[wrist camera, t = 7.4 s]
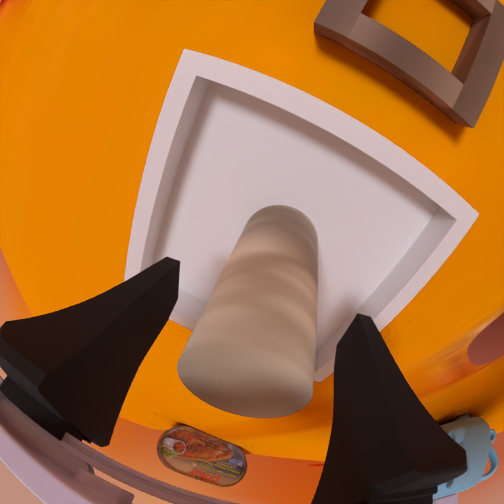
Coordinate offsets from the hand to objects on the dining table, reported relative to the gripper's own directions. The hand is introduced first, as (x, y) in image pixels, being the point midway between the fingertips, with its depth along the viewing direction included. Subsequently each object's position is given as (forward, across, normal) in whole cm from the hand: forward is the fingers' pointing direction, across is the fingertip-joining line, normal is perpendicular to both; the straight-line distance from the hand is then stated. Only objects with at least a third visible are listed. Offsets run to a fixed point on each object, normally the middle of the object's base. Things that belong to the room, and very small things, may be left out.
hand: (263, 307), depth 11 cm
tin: (+6, 0, +39) cm, 39 cm away
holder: (+6, -4, -14) cm, 16 cm away
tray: (+6, 0, 0) cm, 6 cm away
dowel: (+5, 0, 0) cm, 5 cm away
